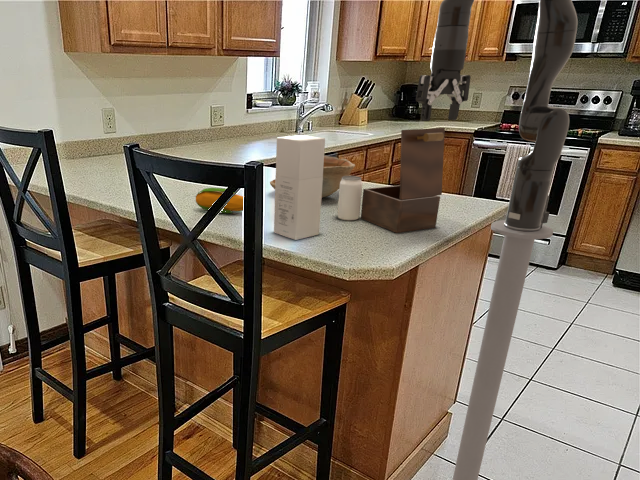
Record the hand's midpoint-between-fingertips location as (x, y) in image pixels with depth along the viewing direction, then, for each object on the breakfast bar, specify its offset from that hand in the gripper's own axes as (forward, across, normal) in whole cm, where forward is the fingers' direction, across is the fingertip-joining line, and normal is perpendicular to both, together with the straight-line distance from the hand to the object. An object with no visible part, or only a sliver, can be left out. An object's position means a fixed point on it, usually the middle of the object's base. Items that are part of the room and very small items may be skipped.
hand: (439, 120), depth 130 cm
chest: (+29, 0, +11) cm, 31 cm away
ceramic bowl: (+29, -5, +51) cm, 59 cm away
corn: (+29, -41, +42) cm, 65 cm away
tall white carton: (+29, -32, +13) cm, 45 cm away
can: (+29, -10, +21) cm, 37 cm away
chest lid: (+11, 0, +4) cm, 12 cm away
